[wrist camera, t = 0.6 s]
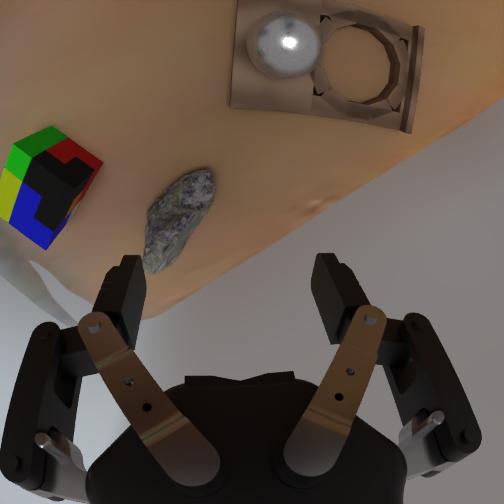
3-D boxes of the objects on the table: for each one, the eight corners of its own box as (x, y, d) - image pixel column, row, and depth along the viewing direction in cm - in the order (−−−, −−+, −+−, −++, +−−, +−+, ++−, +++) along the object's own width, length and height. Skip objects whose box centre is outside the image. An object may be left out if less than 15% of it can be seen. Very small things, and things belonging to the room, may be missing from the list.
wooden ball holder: (238, -9, 26) (241, -18, 22) (408, 29, 29) (424, 28, 26) (229, 106, 34) (230, 109, 31) (396, 127, 38) (411, 134, 34)
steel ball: (246, 14, 26) (254, -2, 19) (314, 23, 27) (339, 12, 20) (241, 76, 30) (247, 75, 24) (308, 82, 31) (332, 85, 25)
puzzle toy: (73, 214, 40) (46, 250, 31) (27, 180, 35) (-9, 209, 27) (103, 162, 36) (74, 189, 28) (52, 125, 32) (13, 143, 23)
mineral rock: (208, 161, 38) (206, 188, 30) (238, 226, 44) (244, 267, 36) (126, 199, 40) (104, 234, 31) (161, 256, 45) (151, 300, 37)
